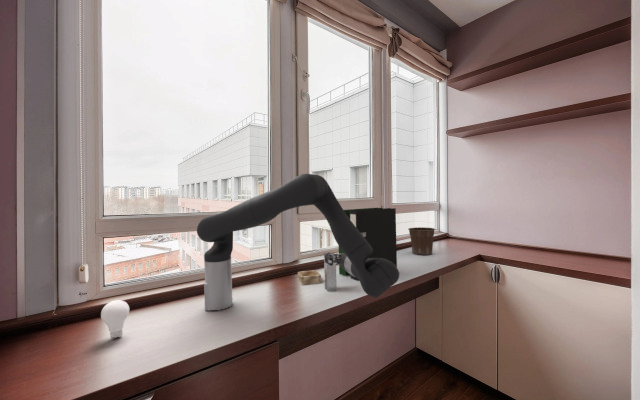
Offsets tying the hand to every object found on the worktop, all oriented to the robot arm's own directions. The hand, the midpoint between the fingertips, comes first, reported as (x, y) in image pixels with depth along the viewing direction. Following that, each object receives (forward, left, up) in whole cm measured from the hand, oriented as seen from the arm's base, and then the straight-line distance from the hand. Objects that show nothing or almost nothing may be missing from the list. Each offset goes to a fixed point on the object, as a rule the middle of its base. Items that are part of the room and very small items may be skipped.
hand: (338, 254), depth 105 cm
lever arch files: (+26, +28, -17) cm, 42 cm away
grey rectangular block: (0, +11, -17) cm, 21 cm away
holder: (-6, +25, -17) cm, 31 cm away
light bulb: (-71, -7, -17) cm, 74 cm away
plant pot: (+76, +55, -17) cm, 95 cm away
